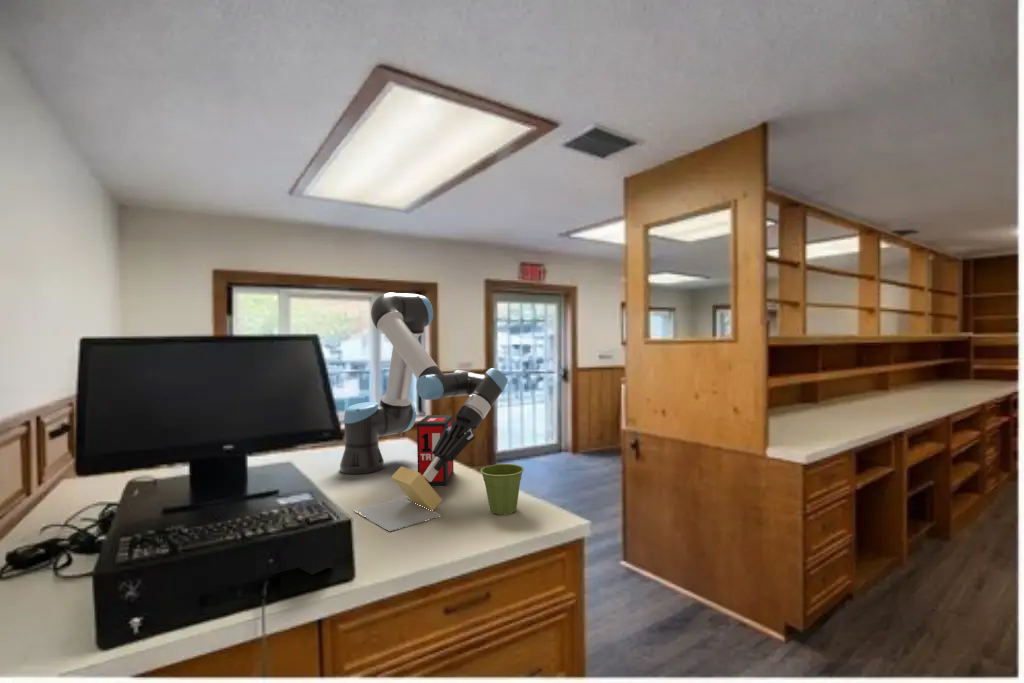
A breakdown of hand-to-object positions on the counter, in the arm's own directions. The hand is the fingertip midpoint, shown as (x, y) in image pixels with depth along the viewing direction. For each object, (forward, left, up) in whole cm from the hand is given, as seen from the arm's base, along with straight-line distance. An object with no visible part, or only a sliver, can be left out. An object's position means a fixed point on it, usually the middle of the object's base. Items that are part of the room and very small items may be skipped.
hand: (426, 478), depth 138 cm
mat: (0, -10, -8) cm, 12 cm away
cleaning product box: (-20, +16, -8) cm, 27 cm away
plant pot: (+18, +12, -8) cm, 23 cm away
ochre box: (0, 0, -6) cm, 6 cm away
